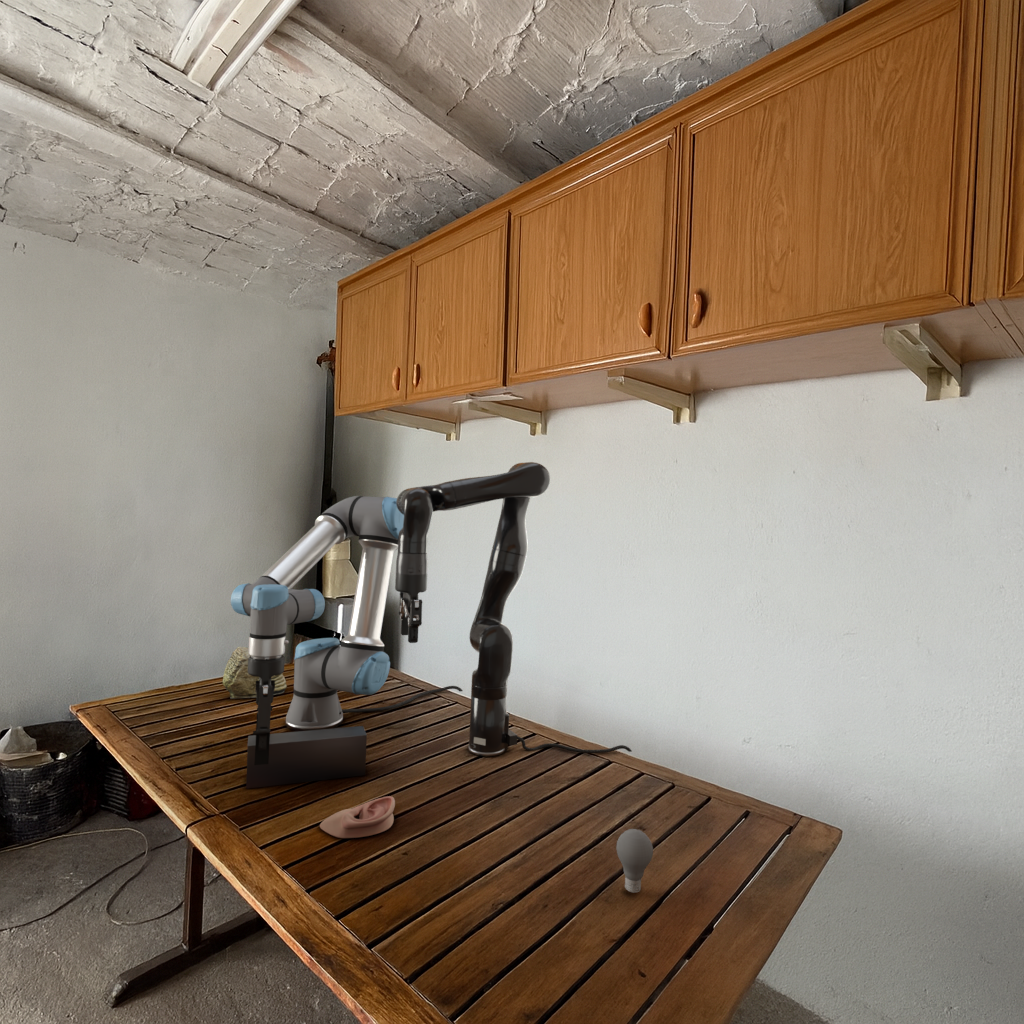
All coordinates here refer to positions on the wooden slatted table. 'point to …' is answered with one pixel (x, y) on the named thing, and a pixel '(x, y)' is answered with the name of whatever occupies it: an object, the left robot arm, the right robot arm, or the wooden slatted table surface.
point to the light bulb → (634, 857)
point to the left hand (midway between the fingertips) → (261, 752)
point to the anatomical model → (361, 819)
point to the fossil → (245, 676)
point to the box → (308, 757)
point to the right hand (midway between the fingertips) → (408, 638)
